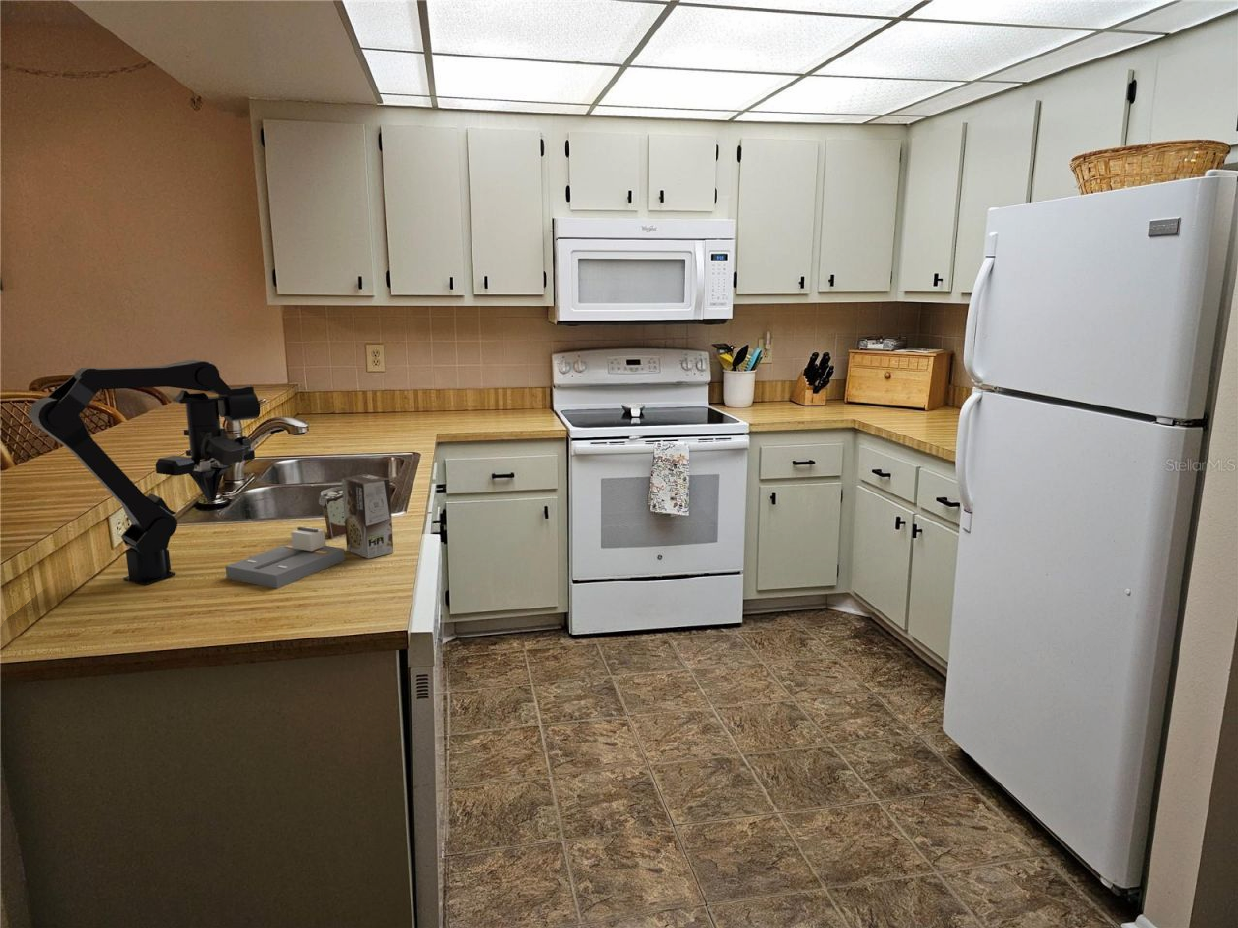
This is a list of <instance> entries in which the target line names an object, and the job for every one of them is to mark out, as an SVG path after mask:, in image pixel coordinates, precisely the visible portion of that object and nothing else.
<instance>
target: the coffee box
mask: <svg viewBox="0 0 1238 928" xmlns="http://www.w3.org/2000/svg"><path fill="white" fill-rule="evenodd" d="M390 483H391V479H389V478H387V477H382V476H377V475H374V474H370V473H362V474H357V475H353V476H348V477H343V478H341V487H342V489H343V503H344V516H345V529H346V535H345V540H346V541H345V542H346V551H348V552H350V553H353V554H355V555H358V556H361V557H363V558H366V559H373V558H377V557H380V556H385V555H388V554H389V555H390V554H393V553H394V543H393V542H394V540H393V539H394V537H393V523H392V521H393V520H392V519H393V518H392V505H391V504H392V503H391V485H390Z"/></svg>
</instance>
